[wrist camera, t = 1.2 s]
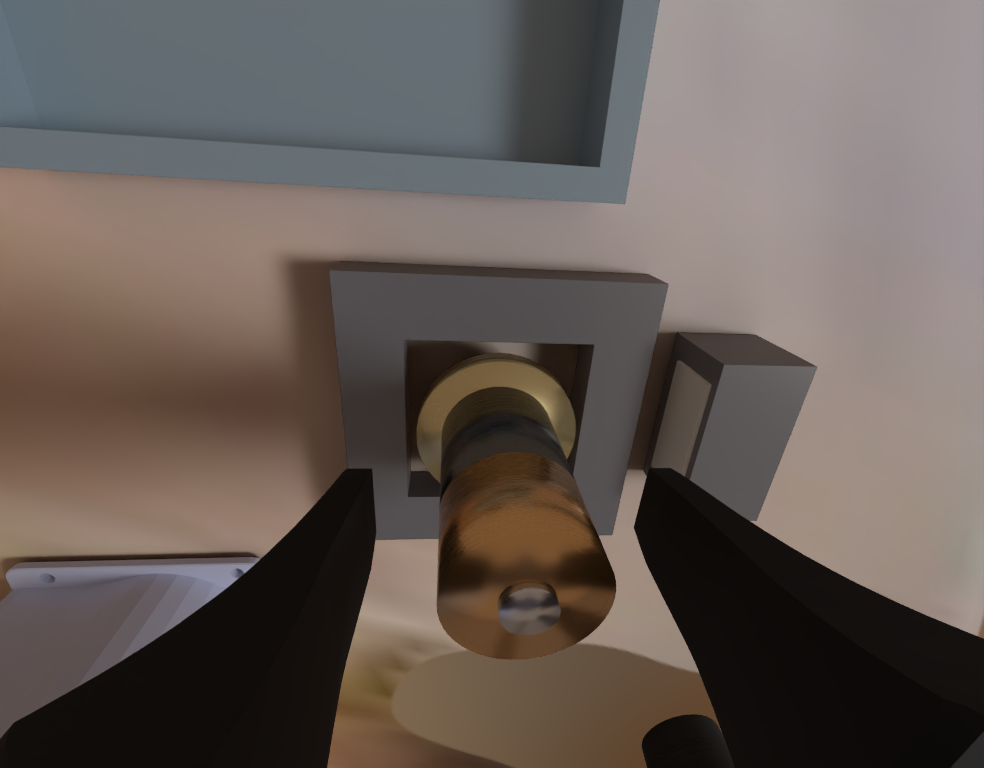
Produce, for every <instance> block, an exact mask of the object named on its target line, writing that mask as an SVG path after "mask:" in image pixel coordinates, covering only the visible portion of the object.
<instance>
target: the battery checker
mask: <svg viewBox="0 0 984 768" xmlns="http://www.w3.org/2000/svg"><path fill="white" fill-rule="evenodd" d="M329 275H330V285H331V296H332V306H333V317H334V327H335V338H336V348H337V359H338V369H339V380H340V390H341V401H342V411H343V422H344V432H345V443H346V453H347V464H348V469H364V468H372V473H373V488H374V502H375V517H376V538H375V540H396V539H439V509H440V482H438V481H437V480H436V479H435V478H434V477H433V476H432V475H431V473H430V472H411V455H410V412H409V369H408V340H435V341H474V342H514V343H553V344H580V346H579V352H578V359H577V366H576V373H575V379H574V386H573V393H572V399H571V406H572V408H573V411H574V416H575V422H576V432H575V439H574V444H573V447H572V450H571V452H570V454H569V456H568V458H567V461H568V464H569V466H570V469H571V471H572V473H573V476H574V478H575V481H576V483H577V485H578V488H579V490H580V493H581V495H582V497H583V500H584V502H585V505H586V507H587V509H588V512H589V514H590V517H591V519H592V522H593V524H594V526H595V529H596V531H597V534H598V535H612V534H613V530H614V525H615V521H616V516H617V512H618V507H619V503H620V498H621V494H622V489H623V485H624V481H625V476H626V472H627V467H628V463H629V458H630V454H631V449H632V445H633V440H634V436H635V432H636V427H637V423H638V418H639V414H640V409H641V405H642V400H643V396H644V391H645V387H646V383H647V378H648V374H649V369H650V365H651V360H652V356H653V351H654V347H655V342H656V338H657V334H658V329H659V325H660V320H661V316H662V311H663V307H664V302H665V298H666V293H667V289H668V285H669V284H667V283H665V282H663V281H661V280H659V279H657V278H655V277H653V276H651V275H649V274H630V273H607V272H583V271H560V270H537V269H513V268H490V267H467V266H443V265H420V264H396V263H373V262H350V261H340V262H339V263H338V264H337V265H335V266H334V267H333V268H331V269H330V270H329ZM816 369H817V366H815V365H813V364H811V363H809V362H807V361H805V360H803V359H801V358H800V357H798V356H796V355H794V354H792V353H790V352H788V351H786V350H784V349H782V348H780V347H778V346H776V345H774V344H772V343H771V342H769V341H767V340H765V339H763V338H761V337H759V336H757V335H744V334H710V333H677V336H676V340H675V344H674V348H673V352H672V356H671V360H670V365H669V369H668V373H667V377H666V381H665V385H664V389H663V393H662V397H661V401H660V406H659V410H658V414H657V418H656V422H655V426H654V430H653V434H652V438H651V442H650V447H649V451H648V455H647V459H646V463H645V467H644V472H645V474H646V475H647V474H648V470H649V468H672V469H673V470H675V471H677V472H678V473H680V474H682V475H683V476H685V477H686V478H688V479H689V480H691V481H692V482H693V483H695V484H696V485H698V486H699V487H701V488H702V489H704V490H705V491H706V492H708V493H709V494H711V495H712V496H714V497H715V498H716V499H718V500H719V501H721V502H722V503H724V504H725V505H727V506H728V507H729V508H731V509H732V510H734V511H735V512H737V513H738V514H740V515H741V516H743V517H744V518H746V519H747V520H749V521H757V518H758V516H759V513H760V511H761V508H762V506H763V503H764V500H765V498H766V495H767V493H768V490H769V488H770V485H771V483H772V480H773V478H774V475H775V473H776V470H777V468H778V465H779V463H780V460H781V458H782V455H783V453H784V450H785V447H786V445H787V442H788V440H789V437H790V435H791V432H792V430H793V427H794V425H795V422H796V420H797V417H798V415H799V412H800V410H801V407H802V405H803V402H804V400H805V397H806V394H807V392H808V389H809V387H810V384H811V382H812V379H813V377H814V374H815V372H816Z"/></svg>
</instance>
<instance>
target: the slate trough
mask: <svg viewBox="0 0 984 768" xmlns="http://www.w3.org/2000/svg"><path fill="white" fill-rule="evenodd" d="M659 2H660V0H0V167H8V168H25V169H41V170H58V171H75V172H92V173H109V174H125V175H142V176H159V177H176V178H193V179H210V180H226V181H243V182H260V183H277V184H294V185H310V186H327V187H344V188H361V189H378V190H395V191H411V192H428V193H445V194H462V195H479V196H496V197H512V198H529V199H546V200H563V201H580V202H596V203H613V204H625V202H626V196H627V190H628V184H629V178H630V173H631V167H632V161H633V155H634V149H635V143H636V137H637V132H638V126H639V120H640V114H641V108H642V102H643V96H644V90H645V85H646V79H647V73H648V67H649V61H650V55H651V49H652V44H653V38H654V32H655V26H656V20H657V14H658V8H659Z"/></svg>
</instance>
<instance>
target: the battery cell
mask: <svg viewBox="0 0 984 768" xmlns="http://www.w3.org/2000/svg"><path fill="white" fill-rule="evenodd" d="M615 594H616V580H615V575H614V572H613V570H612V567H611V565H610V563H609V560H608V558H607V555H606V553H605V550H604V548H603V546H602V543H601V541H600V538H599V536H598V534H597V531H596V529H595V526H594V524H593V522H592V519H591V517H590V514H589V512H588V509H587V507H586V505H585V502H584V500H583V497H582V495H581V493H580V490H579V488H578V485H577V483H576V481H575V478H574V476H573V473H572V471H571V469H570V466H569V464H568V461H567V459H566V456H565V454H564V452H563V449H562V447H561V444H560V442H559V440H558V437H557V435H556V432H555V430H554V428H553V425H552V423H551V420H550V418H549V416H548V413H547V411H546V410H545V408H544V407H543V406H542V404H541V403H540V402H539V401H538V400H537V399H535V398H534V397H533V396H531V395H530V394H528V393H526V392H524V391H521V390H518V389H515V388H510V387H490V388H485V389H481V390H478V391H476V392H473V393H471V394H469V395H467V396H466V397H464V398H463V399H462V400H460V401H459V402H458V403H457V404H456V405H455V406H454V407H453V408H452V409H451V411H450V412H449V414H448V415H447V417H446V419H445V422H444V425H443V429H442V440H441V474H440V509H439V543H438V577H437V613H438V616H439V620H440V622H441V624H442V626H443V628H444V630H445V631H446V632H447V634H448V635H449V636H450V637H451V638H452V639H453V640H454V641H456V642H457V643H458V644H460V645H461V646H463V647H464V648H466V649H468V650H470V651H472V652H475V653H477V654H480V655H484V656H488V657H493V658H498V659H530V658H536V657H542V656H546V655H549V654H553V653H556V652H558V651H561V650H564V649H566V648H568V647H570V646H572V645H574V644H576V643H578V642H579V641H581V640H582V639H584V638H585V637H587V636H588V635H589V634H591V633H592V632H593V631H594V630H595V629H596V628H597V627H598V626H599V625H600V624H601V623H602V622H603V620H604V619H605V618H606V616H607V615H608V613H609V611H610V609H611V607H612V605H613V602H614V599H615Z"/></svg>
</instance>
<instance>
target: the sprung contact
mask: <svg viewBox="0 0 984 768" xmlns="http://www.w3.org/2000/svg"><path fill="white" fill-rule="evenodd" d="M490 387H510V388H515V389H518V390H521V391H524V392H526V393H528V394H530V395H531V396H533V397H534V398H535V399H537V400H538V401H539V402H540V403H541V404H542V406H543V407H544V408H545V410H546V411H547V413H548V416H549V418H550V420H551V423H552V425H553V428H554V430H555V432H556V435H557V437H558V440H559V442H560V444H561V447H562V449H563V452H564V454H565V456H566V459H567V458H568V456H569V454H570V452H571V450H572V447H573V444H574V439H575V432H576V422H575V416H574V411H573V408H572V406H571V403H570V401H569V399H568V397H567V395H566V393H565V392H564V390H563V388H562V386H561V385H560V383H559V382H558V380H557V379H556V378H555V377H554V376H553V375H552V374H551V373H550V372H549V371H548V370H547V369H546V368H544V367H543V366H541V365H540V364H538V363H536V362H534V361H532V360H530V359H527V358H525V357H522V356H518V355H513V354H506V353H489V354H483V355H477V356H474V357H471V358H467V359H465V360H463V361H460V362H458V363H457V364H455V365H453V366H451V367H450V368H448V369H447V370H446V371H445V372H443V373H442V374H441V375H440V376H439V377H438V378H437V379H436V380H435V381H434V382H433V383H432V385H431V386H430V387H429V389H428V391H427V392H426V394H425V396H424V398H423V401H422V403H421V406H420V410H419V415H418V423H417V435H416V437H417V446H418V450H419V454H420V456H421V459H422V461H423V463H424V465H425V466H426V468H427V470H428V471H429V472H430V473H431V475H432V476H433V477H434V478H435V479H436V480H437V481H438V482H440V474H441V440H442V429H443V425H444V422H445V419H446V417H447V415H448V414H449V412H450V411H451V409H452V408H453V407H454V406H455V405H456V404H457V403H458V402H459V401H460V400H462V399H463V398H464V397H466V396H467V395H469V394H471V393H473V392H476V391H478V390H481V389H485V388H490Z"/></svg>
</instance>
